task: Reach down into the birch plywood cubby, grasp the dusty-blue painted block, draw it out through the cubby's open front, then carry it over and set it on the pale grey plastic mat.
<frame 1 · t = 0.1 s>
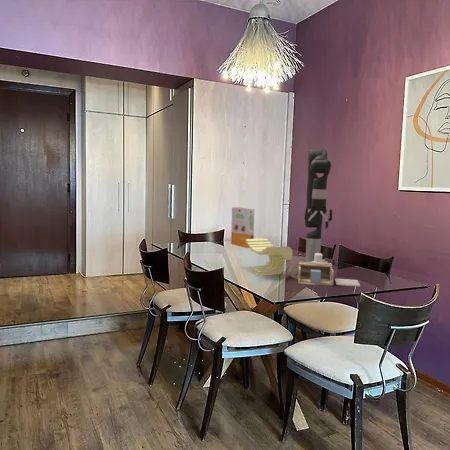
hand: (317, 228, 225), 29 cm above the table, fingers open, 8 cm apart
cereal box: (242, 245, 340), on the table
cubby: (314, 280, 230), on the table
mat: (347, 282, 227), on the table
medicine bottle: (318, 273, 249), on the table
block: (315, 281, 226), point 1 cm above the table, touching cubby
slatted curved stool: (267, 272, 248), on the table
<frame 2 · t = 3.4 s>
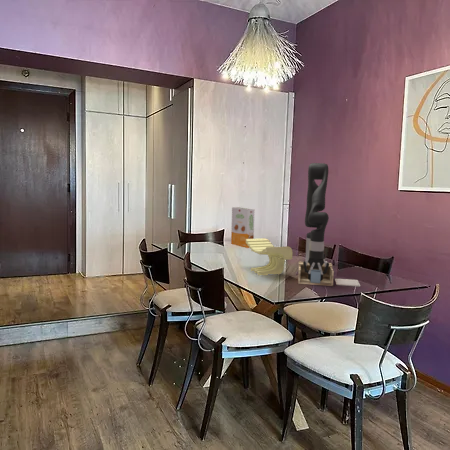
hand: (315, 280, 226), 1 cm above the table, fingers closed on block, 5 cm apart
block: (315, 281, 226), point 1 cm above the table, touching cubby, gripper
everything else where it was.
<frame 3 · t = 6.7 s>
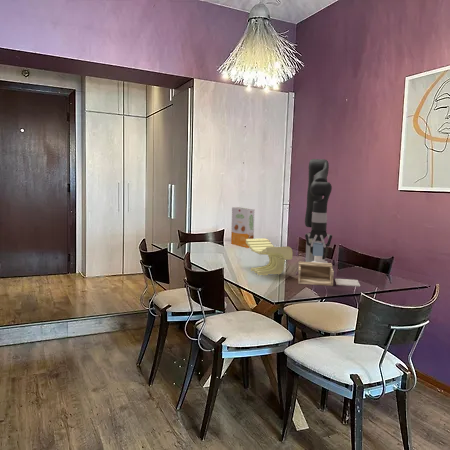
hand: (317, 253, 217), 17 cm above the table, fingers closed on block, 5 cm apart
block: (317, 255, 217), point 16 cm above the table, touching gripper
everything else where it was.
when the fingers open (3 cm above the table, at t = 10.2 s): block drops 2 cm, resting on mat.
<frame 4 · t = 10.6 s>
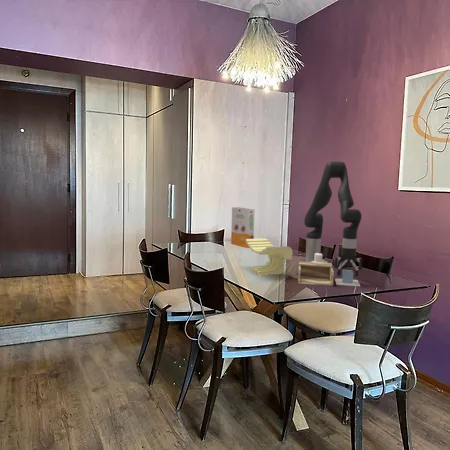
hand: (347, 276, 227), 4 cm above the table, fingers open, 8 cm apart
block: (347, 281, 227), point 1 cm above the table, touching mat
everything else where it was.
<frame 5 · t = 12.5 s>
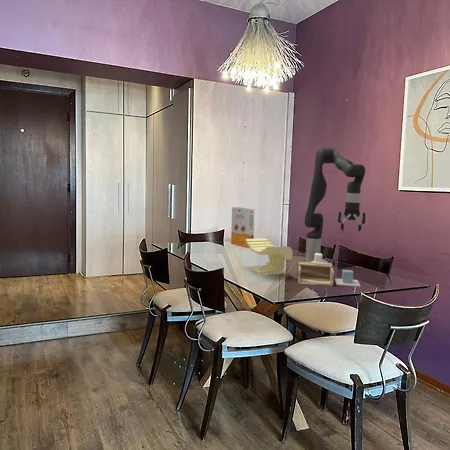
hand: (350, 230, 231), 27 cm above the table, fingers open, 8 cm apart
nothing on the table moved.
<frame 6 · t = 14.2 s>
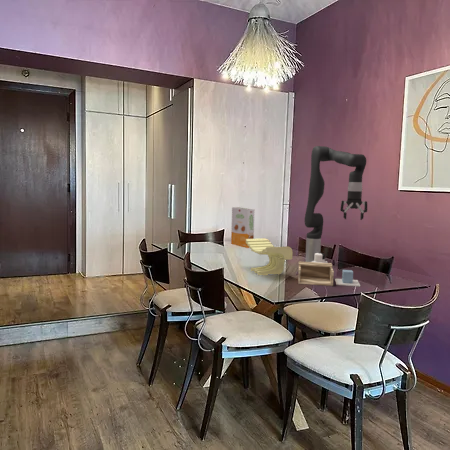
hand: (353, 219, 236), 33 cm above the table, fingers open, 8 cm apart
nothing on the table moved.
at the end: block inside the target area on the mat (0.0 cm from its centre), point 0.6 cm above the mat's base; block touching mat; the gripper is holding nothing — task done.
